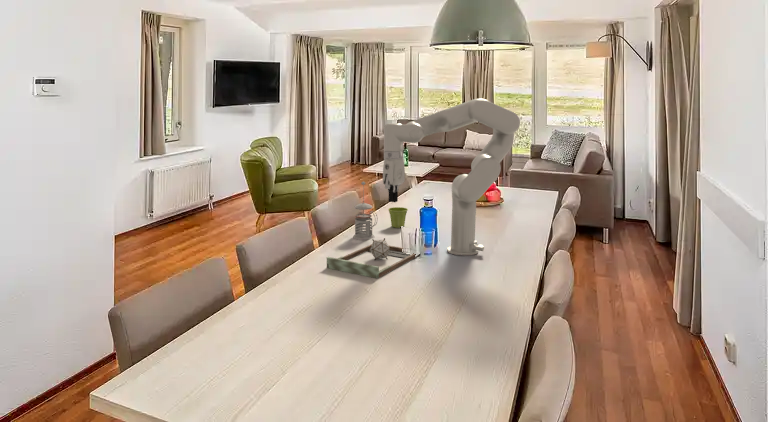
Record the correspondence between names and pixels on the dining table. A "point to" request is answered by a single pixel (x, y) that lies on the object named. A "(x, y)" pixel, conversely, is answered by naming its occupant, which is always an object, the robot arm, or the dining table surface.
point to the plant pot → (397, 216)
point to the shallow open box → (366, 269)
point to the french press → (363, 221)
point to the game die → (379, 249)
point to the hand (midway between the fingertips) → (393, 201)
